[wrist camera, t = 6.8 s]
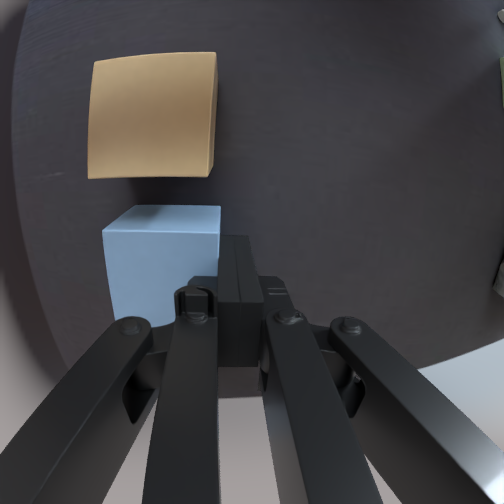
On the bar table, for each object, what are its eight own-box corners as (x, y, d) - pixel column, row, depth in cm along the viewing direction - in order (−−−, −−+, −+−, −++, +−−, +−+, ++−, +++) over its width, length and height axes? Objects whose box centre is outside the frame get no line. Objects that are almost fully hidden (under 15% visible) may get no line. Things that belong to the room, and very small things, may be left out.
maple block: (129, 82, 13) (93, 61, 8) (218, 79, 13) (216, 51, 9) (125, 167, 15) (87, 179, 10) (212, 167, 15) (207, 177, 11)
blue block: (134, 204, 15) (101, 230, 11) (220, 205, 16) (219, 232, 11) (140, 283, 17) (117, 329, 13) (218, 285, 18) (218, 335, 13)
